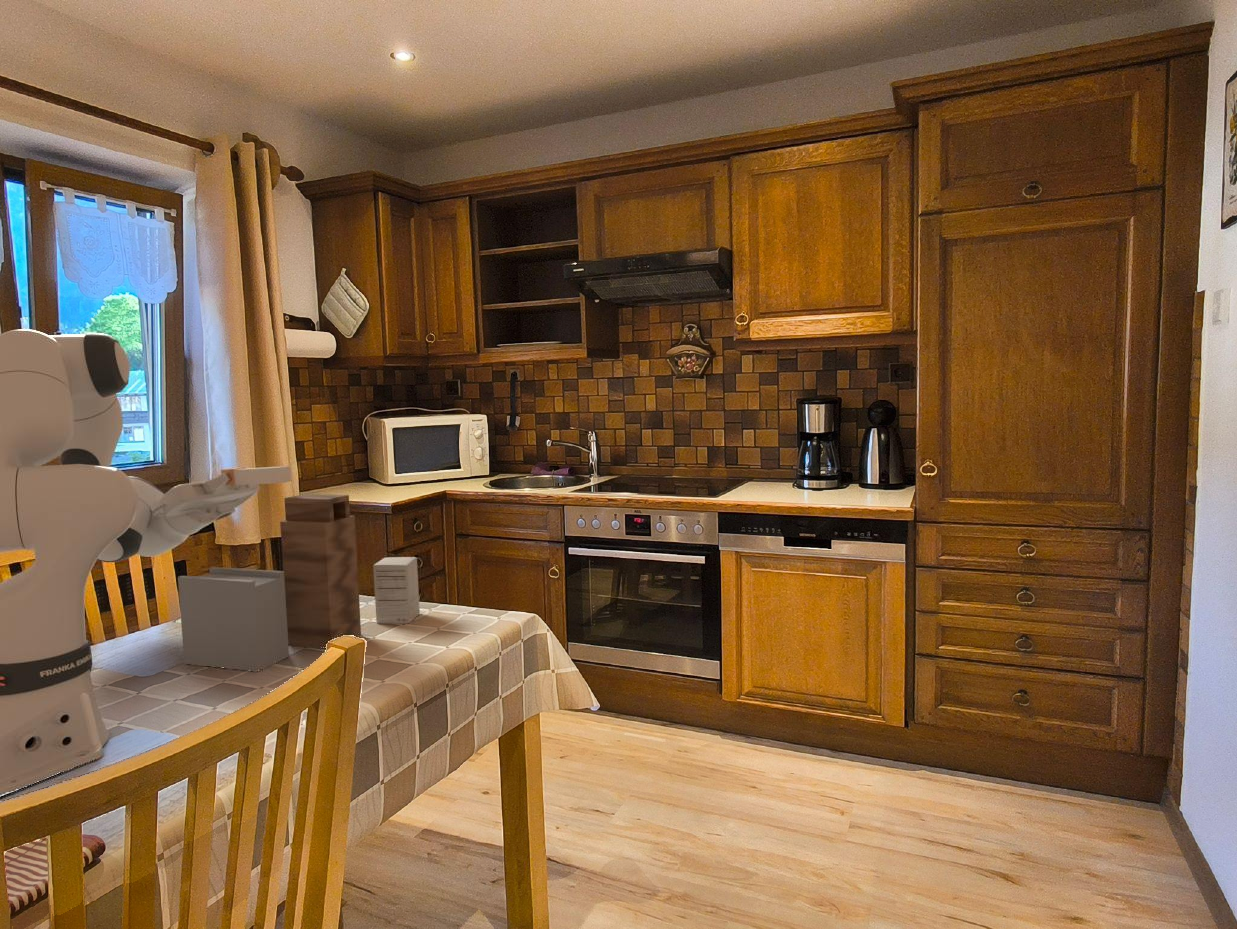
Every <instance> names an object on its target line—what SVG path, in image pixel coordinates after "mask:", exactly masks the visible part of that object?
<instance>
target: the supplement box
mask: <svg viewBox="0 0 1237 929" xmlns="http://www.w3.org/2000/svg"><path fill="white" fill-rule="evenodd" d="M372 565H373V568H372V569H373V581H374V582H373V583H374V584H373V585H374V601H375V616H376V617H375V618H376V620H375V621H376V623H377V624H411V622H412V621H413V620H414V619H415V618H416V617H417V616H418V615H419V614H420V595H419V594H420V592H419V578H418V577H419V576H418V573H419V572H418V558H417V557H415V556H398V557H397V556H396V557H395V556H393V557H392V556H391V557H383V558H382V559H381V560H379V561H377V562H376V563H374V564H372Z"/></svg>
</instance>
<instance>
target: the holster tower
mask: <svg viewBox="0 0 1237 929" xmlns="http://www.w3.org/2000/svg"><path fill="white" fill-rule="evenodd" d="M283 499H284V513H285V514H284V515H285V520H281V521H280V522H279V524H280V526H279V527H280V528H279V529H280V539H281V554H282V556H281V557H282V558H281V560H282V571H284V582H285V598H286V614H287V629H288V644H289V646H292V645H294V647H302V648H313V647H318V648H317V649H323V647H324V649H325V647H326V644H327V643H328V641H330V640H332V639H334V638H337V637H341V636H343V635H354V636H357V637H359V636H361V635H362V623H361V622H362V621H361V607H360V605H361V604H360V591H359V590H360V589H359V587H360V584H359V568H358V553H357V552H358V551H357V548H358V547H357V530H356V517H355V515H351V513H350V512H351V511H350V510H351V509H350V495H349V494H326V493H325V494H324V493H323V494H322V493H321V494H320V493H303V494H300V495H299V494H298V495H294V496H288V497H284V498H283ZM360 634H361V635H360ZM321 647H322V648H321ZM325 650H326V649H325Z"/></svg>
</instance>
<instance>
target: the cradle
mask: <svg viewBox="0 0 1237 929" xmlns="http://www.w3.org/2000/svg"><path fill="white" fill-rule="evenodd" d="M208 570H209V573H207V574H206V573H205V574H203V575H200V576H193V575H191V576H190V575H179V576H177V584H178V596H179V599H178V600H179V608H180V611H179V613H180V625H181V634H182V635H181V637H182V650H183V663H184V665H187V664H192V665H191V666H196V665H197V666H199V667H205V666H211V667H210V668H214V667H224V668H230V669H229V670H232V669H239V670H238V671H241V670H248V671H247V672H250V671H255V672H254V673H258V672H259V671H258V670H261V669H263V668H265V667H267V668H269V667H271V666H273V665H275V664H276V663H275V662H277V663H279V662H281V660H282V661H284V660H286V659H288V658H290V649H289V646H290V645H288V629H287V614H286V598H285V582H284V571H283V570H268V569H267V570H266V569H254V568H252V569H251V568H235V567H222V566H221V567H219V566H211V567H209V568H208ZM287 657H288V658H287ZM285 658H286V659H285ZM283 659H284V660H283ZM278 661H279V662H278ZM274 663H275V664H274ZM272 664H273V665H272ZM270 665H271V666H270ZM268 666H269V667H268ZM265 669H266V668H265ZM249 670H250V671H249ZM263 670H264V669H263ZM257 671H258V672H257ZM261 671H262V670H261Z"/></svg>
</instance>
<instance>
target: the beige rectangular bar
mask: <svg viewBox="0 0 1237 929" xmlns="http://www.w3.org/2000/svg"><path fill="white" fill-rule="evenodd" d="M220 472H221V473H220V475H221V474H223V473H230V476H231V477H232V481H231V482H229V483H228V484H225V485H223V486H228V485H249V484H258V485H265V484H266V485H267V484H269V485H270V484H284V483H289V482H292V480H293V479H292V472H291V466H290V465H287V466H286V465H285V466H284V465H283V466H268V467H267V466H266V467H250V468H246V467H232V468H224V469H220Z"/></svg>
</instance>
